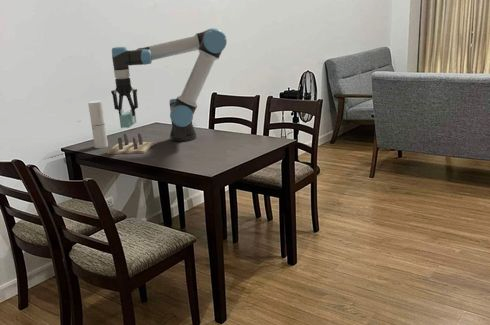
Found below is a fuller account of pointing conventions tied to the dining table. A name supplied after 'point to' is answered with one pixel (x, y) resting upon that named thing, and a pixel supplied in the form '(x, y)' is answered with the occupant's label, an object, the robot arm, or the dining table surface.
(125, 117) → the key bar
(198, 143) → the dining table surface
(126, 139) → the wooden peg board
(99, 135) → the cylindrical container
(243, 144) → the dining table surface
